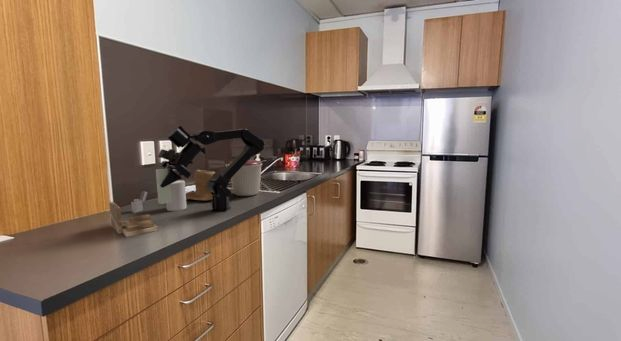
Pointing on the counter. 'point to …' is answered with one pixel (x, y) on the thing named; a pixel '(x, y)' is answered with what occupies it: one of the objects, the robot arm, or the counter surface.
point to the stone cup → (201, 186)
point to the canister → (247, 179)
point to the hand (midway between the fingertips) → (159, 186)
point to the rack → (124, 222)
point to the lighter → (138, 203)
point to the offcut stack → (139, 223)
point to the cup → (177, 196)
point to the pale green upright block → (164, 192)
